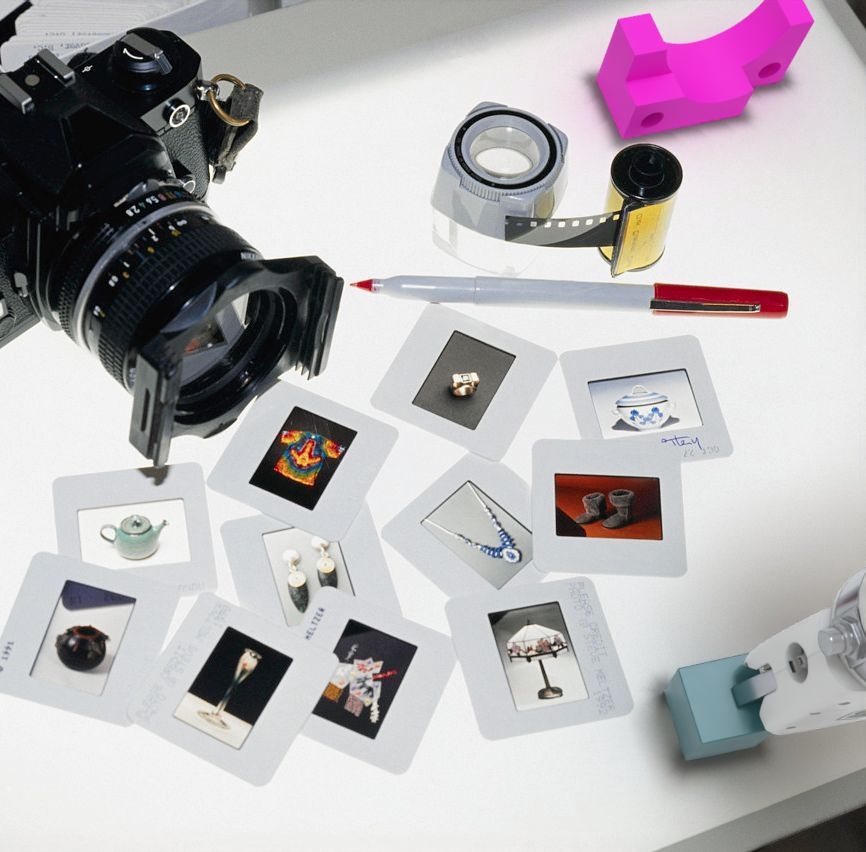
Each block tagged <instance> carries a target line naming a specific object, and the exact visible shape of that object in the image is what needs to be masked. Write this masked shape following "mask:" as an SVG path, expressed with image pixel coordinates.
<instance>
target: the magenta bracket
mask: <svg viewBox="0 0 866 852" xmlns="http://www.w3.org/2000/svg"><path fill="white" fill-rule="evenodd" d="M814 24H815V19H814V17H813V15H812V14H811V11H810V10H809V8H808V6H807V4H806V3H805V1H804V0H762V2H761V3H760V4H759V5H758V6H757V7H755V9H754V10H752V12H750V13H749V14H748V15H747V16H745V17H743V19H741V20H740V21H738V22H737V23H735V24H734V25H732V26H730V27H729V28H727V29H725V30H724V31H722V32H721V31H720V32H719V33H717V34H715V35H712V36H709V37H706V38H704V39H701V40H697V41H692V42H686V43H673V42H668V41H665V40H664V38H663V36H662V35H661V32H660V29H659V27H658V26H657V24H656V22H655V20H654V17H653V16H652V13H650V12H648V13H641V14H637V15H636V14H635V15H632V16H631V15H630V16H626V17H621V18H617V21H616V24H615V26H614V29H613V31H612V35H611V37H610V40H609V43H608V46H607V48H606V51H605V54H604V57H603V59H602V61H601V64H600V68H599V70H598V73H597V76H596V78H595V82H596V83H597V85H598V88H599V90H600V93H601V94H602V97H603V99H604V102H605V104H606V107H607V108H608V110H609V112H610V114H611V117H612V120H613V122H614V124H615V125H616V129H617V130H618V132H619V135H620V137H621V140H626V139H627V140H628V139H632V138H636V137H641V136H646V135H652V134H655V133H661V132H664V131H665V132H666V131H671V130H675V129H681V128H686V127H691V126H695V125H700V124H707V123H711V122H715V121H720V120H721V121H722V120H726V119H730V118H735V117H740V116H741V115H742V113H743V111H744V109H745V108H746V107H747V104H748V103H749V100H750V98H751V96H752V95H753V93H754V91H755V90H754V88H755V87H760V86H761V87H762V86H766V85H770V84H777V83H781V81H782V80H783V78H784V76H785V75H786V73H787V71H788V69H789V67H790V65H791V64H792V62H793V60H794V58H795V57H796V55H797V53H798V51H799V50H800V48H801V46H802V44H803V43H804V41H805V39H806V38H807V35H808V34H809V31H810V30H811V28H812V27H813V25H814Z"/></svg>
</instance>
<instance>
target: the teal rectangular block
mask: <svg viewBox="0 0 866 852" xmlns="http://www.w3.org/2000/svg"><path fill="white" fill-rule="evenodd" d="M749 653H750V652H747V653H742V654H738V655H732V656H728V657H725V658H719V659H714V660H710V661H704V662H701V663H696V664H692V665H691V664H690V665H687V666H681V667H678V668H677V670H676V671H675V673H674V674H673V676H672V677H671V680H670V681H669V683H668V684H667V685H666V687H665V689H664V690H663V692H664V697H665V700H666V703H667V707H668V709H669V713H670V717H671V719H672V723H673V725H674V729H675V733H676V736H677V739H678V741H679V745H680V748H681V751H682V754H683V758H684V760H685V761H692V760H698V759H704V758H708V757H714V756H718V755H723V754H728V753H732V752H737V751H741V750H742V751H743V750H747V749H750V748H755V747H756V746H757V745H758V744H759V745H760V743H762V742H763V741H764V740H765V739H767V738H768V737H769V736H771V734H772V735H773V733H770V732H768V731H767V730H766V729H765V727H764V725H763V723H762V720H761V718H760V709H761V705H762V702H761V703H756V704H751V705H747V706H742V707H738V704H737V701H736V698H735V695H734V692H733V689H732V687H733V686H735V685H737V684H739V683H741V682H743V681H746V680H748V679H750V678H752V677H754V676H757V675H759V674H761V673H762V672H761V669H758V670H755V669H750V670H749V669H748V666H744V665H743V664H744V661H745V659H746V657H747V655H748V654H749Z"/></svg>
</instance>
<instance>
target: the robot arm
mask: <svg viewBox="0 0 866 852" xmlns="http://www.w3.org/2000/svg"><path fill="white" fill-rule="evenodd" d="M748 653H749V654H748V655H747V657H746V659H745V661H744V664H743V665H744V666H748V669H749V670H750V669H755V670H758V669H759V670H761V669H763V672H760V673H761V674H759V675H757V676H754V677H752V678H750V679H748V680H746V681H743V682H741V683H739V684H737V685H735V686H733V687H732V689H733V692H734V695H735V698H736V701H737V704H738V707H742V706H747V705H751V704H756V703H761V702H762V705H761V709H760V718H761V720H762V723H763V725H764V727H765V729H766V730H767V731H768V732H770V733H772V735H775V736H783V735H792V734H799V733H804V732H809V731H815V730H819V729H825V728H829V727H835V726H840V725H845V724H846V725H847V724H851V723H856V722H860V721H865V720H866V566H865V567H864V568H862V569H861V570H860V571H858V572H856V573H855V574H853V575H852V576H851V577H849V578H848V579H847V581H845V582H844V583H843V585H842V586H841V587H840V588H839V590H838V591H837V593H836V595H835V598H834V600H833V602H832V605H830V606H828V607H825V608H824V609H822V610H820V611H818V612H815V613H813V614H810V615H808V616H807V617H805V618H803V619H801V620H800V621H797V622H796V623H794V624H792V625H790V626H788V627H786V628H785V629H782V630H781V631H779V632H777V633H775V634H774V635H772V636H771V637H769V638H767V639H766V640H764V641H762V642H761V643H760V644H758V645H756V647H754V648H753V649H752V650H750V652H748Z"/></svg>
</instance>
